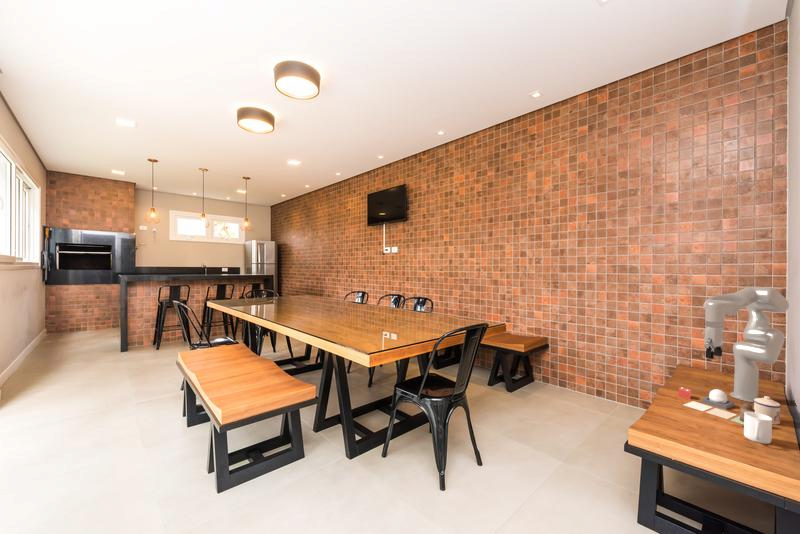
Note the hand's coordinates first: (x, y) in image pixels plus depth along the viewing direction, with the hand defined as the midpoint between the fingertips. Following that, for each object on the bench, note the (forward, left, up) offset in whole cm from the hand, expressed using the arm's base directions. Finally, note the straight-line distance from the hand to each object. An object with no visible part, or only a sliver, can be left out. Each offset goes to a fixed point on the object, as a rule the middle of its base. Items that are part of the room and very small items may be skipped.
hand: (713, 357), depth 182 cm
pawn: (+11, +17, -25) cm, 32 cm away
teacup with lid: (-4, +19, -26) cm, 33 cm away
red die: (+2, -12, -26) cm, 28 cm away
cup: (+28, +25, -26) cm, 46 cm away
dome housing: (-2, +1, -26) cm, 26 cm away
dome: (-2, +1, -24) cm, 24 cm away
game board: (+11, +7, -26) cm, 29 cm away
